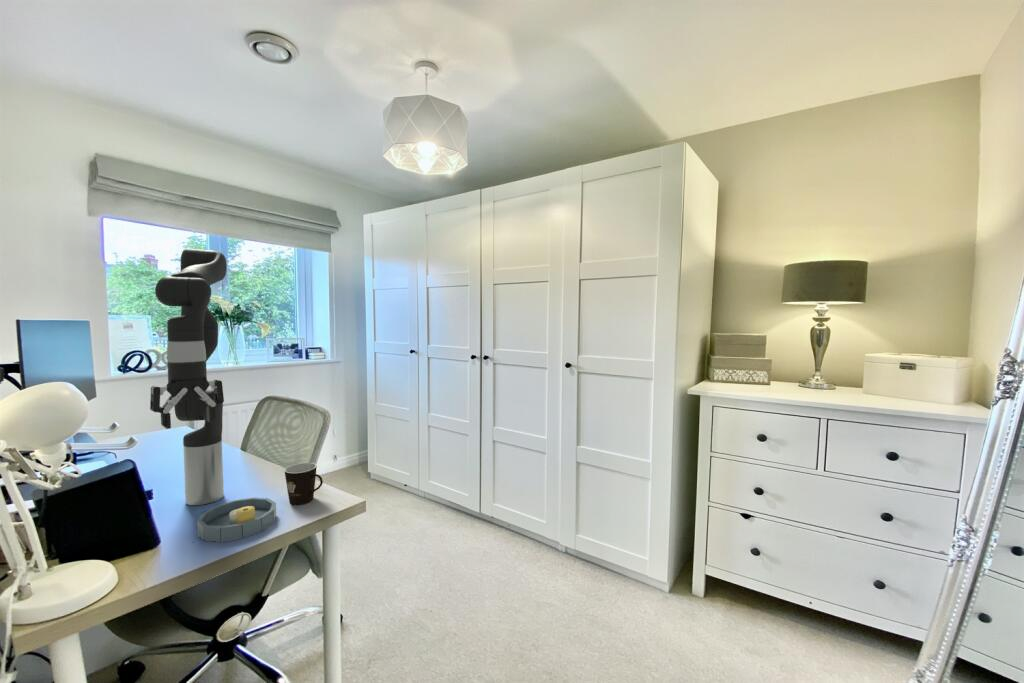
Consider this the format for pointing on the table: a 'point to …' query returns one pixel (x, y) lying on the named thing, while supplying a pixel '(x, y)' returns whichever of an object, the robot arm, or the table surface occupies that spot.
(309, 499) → the coffee mug
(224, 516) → the groove dish
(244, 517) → the bead
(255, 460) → the table surface
